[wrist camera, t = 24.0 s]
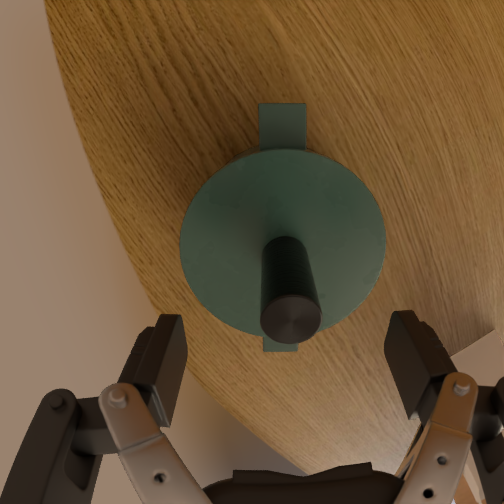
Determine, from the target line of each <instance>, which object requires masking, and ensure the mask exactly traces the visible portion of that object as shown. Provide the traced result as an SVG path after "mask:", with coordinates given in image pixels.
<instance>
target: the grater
mask: <svg viewBox="0 0 504 504" xmlns="http://www.w3.org/2000/svg"><path fill="white" fill-rule="evenodd" d="M450 358H451V360H452V362H453V363H454V365H455V367H456V369H457V370H458V372H462V373H465V374H468V375H469V376H471V377H472V378H473V379H474V380H475V381H476V383H477V385H480V386H496V384H497V382H498V381H499V379H500V378H502V377H504V345H503V343H502V341H501V339H500V337H499V335H498V333H497V332H496V330H495V329H494V330H493V331H491V332H490V333H488V334H487V335H485V336H484V337H482V338H480V339H479V340H477V341H476V342H474V343H472V344H471V345H469V346H468V347H466V348H464V349H463V350H461V351H459V352H457V353H456V354H454V355H452V356H451V357H450ZM501 432H502V435H503V437H504V429H503V430H502V431H501ZM463 475H464V477H465V479H466V481H467V483H468V485H469V487H470V489H471V491H472V493H473V495H474V498H475V500H476V502H478V503H479V504H482V502H481V500H483V499H485V496H484V492H483V489H482V485H481V482H480V478H479V475H478V472H477V468H476V465H475V462H474V459H473V456H472V453H471V450H469V454H468V457H467V460H466V463H465V466H464V470H463Z"/></svg>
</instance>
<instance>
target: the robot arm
mask: <svg viewBox="0 0 504 504" xmlns="http://www.w3.org/2000/svg"><path fill="white" fill-rule="evenodd" d="M187 354H188V349H187V342H186V337H185V332H184V326H183V321H182V317H181V315H177V314H161V315H160V316H159V318H158V321H157V323H156V326H155V327H147V328H146V329H144V330H143V331H142V332H141V333H140V334H139V336H138V338H137V339H136V342H135V344H134V347H133V348H132V350H131V354H130V355H129V357H128V359H127V361H126V364H125V366H124V368H123V370H122V373H121V375H120V377H119V380H118V382H117V383H115V384H112V385H110V386H108V387H106V388H105V389H104V390H103V391H102V392H101V394H100V396H99V397H93V398H82V399H76V397H75V395H74V394H73V393H72V392H71V391H69V390H67V389H55V390H53V391H51V392H49V393H48V394H46V395H45V396H44V398H43V399H42V401H41V403H40V405H39V407H38V409H37V411H36V413H35V415H34V418H33V420H32V422H31V424H30V426H29V429H28V431H27V433H26V435H25V437H24V440H23V442H22V444H21V446H20V449H19V451H18V453H17V456H16V458H15V461H14V463H13V466H12V468H11V471H10V473H9V475H8V478H7V481H6V483H5V486H4V489H3V491H2V494H1V497H0V504H91V500H92V495H93V492H94V487H95V484H96V480H97V476H98V472H99V468H100V465H101V461H102V457H103V454H113V453H118V456H119V458H120V461H121V463H122V465H123V467H124V469H125V471H126V473H127V475H128V477H129V479H130V481H131V483H132V485H133V487H134V488H135V490H136V492H137V494H138V496H139V498H140V500H141V501H142V503H143V504H451V503H452V500H453V498H454V495H455V492H456V490H457V487H458V484H459V481H460V478H461V476H462V473H463V470H464V466H465V463H466V460H467V457H468V454H469V450H471V453H472V456H473V459H474V462H475V465H476V468H477V472H478V475H479V478H480V482H481V485H482V489H483V492H484V496H485V500H486V503H487V504H504V437H503V435H502V432H501V431H502V430H503V429H504V377H502V378H500V379H499V381H498V382H497V384H496V386H480V385H477V383H476V381H475V380H474V379H473V378H472V377H471V376H469V375H468V374H465V373H462V372H458V370H457V369H456V367H455V365H454V363H453V362H452V360H451V358H450V356H449V355H448V353H447V351H446V350H445V348H444V347H443V344H442V343H441V341H440V340H439V338H438V336H437V334H436V333H435V331H434V330H433V328H431V327H430V326H429V325H428V324H426V323H425V322H424V321H423V322H420V321H419V319H418V318H417V316H416V314H415V313H414V311H413V310H402V311H394V312H393V313H392V315H391V319H390V323H389V327H388V331H387V334H386V338H385V342H384V354H385V357H386V360H387V362H388V365H389V368H390V370H391V373H392V375H393V378H394V381H395V383H396V386H397V389H398V391H399V394H400V397H401V399H402V402H403V405H404V408H405V410H406V413H407V416H408V419H409V420H411V419H416V418H420V421H421V424H420V425H419V427H418V429H417V432H416V434H415V436H414V438H413V440H412V443H411V445H410V447H409V449H408V451H407V453H406V455H405V457H404V459H403V461H402V463H401V465H400V467H399V469H398V470H397V472H396V473H395V475H392V474H389V473H386V472H382V471H376V470H373V469H372V465H371V462H367V463H360V464H353V465H345V466H338V467H335V468H332V469H329V470H326V471H323V472H319V473H316V474H313V475H309V476H304V477H302V476H295V475H290V474H283V473H279V472H273V471H268V470H263V471H262V470H233V478H230V479H225V480H221V481H218V482H216V483H213V484H210V485H208V486H207V487H205V488H203V489H201V487H200V486H199V484H198V483H197V482H196V480H195V479H194V477H193V476H192V475H191V473H190V472H189V470H188V469H187V467H186V466H185V465H184V463H183V461H182V460H181V458H180V457H179V455H178V454H177V452H176V451H175V449H174V448H173V447H172V445H171V443H170V442H169V440H168V438H167V437H166V435H165V434H164V433H162V432H161V430H160V427H170V425H171V421H172V417H173V413H174V409H175V405H176V401H177V397H178V393H179V389H180V385H181V381H182V377H183V373H184V370H185V366H186V362H187Z"/></svg>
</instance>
